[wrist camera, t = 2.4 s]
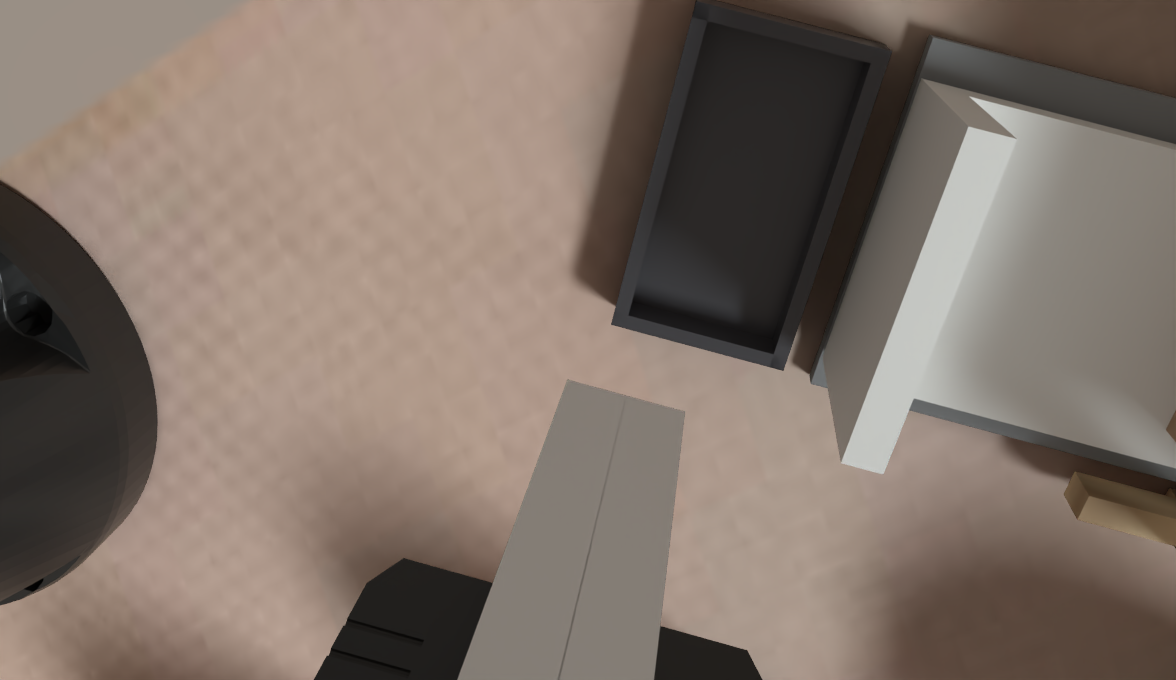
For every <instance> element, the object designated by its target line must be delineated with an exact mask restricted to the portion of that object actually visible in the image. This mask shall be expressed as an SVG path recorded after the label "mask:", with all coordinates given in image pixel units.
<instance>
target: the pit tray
mask: <svg viewBox="0 0 1176 680" xmlns="http://www.w3.org/2000/svg"><path fill="white" fill-rule="evenodd" d="M891 53H892V51H891V50H890V49H889V48H888V47H887V46H886V45H885V44H882V43H878V42H875V41H871V40H867V39H863V38H859V37H855V36H851V35H847V34H844V33H840V32H836V31H832V30H828V29H824V28H820V27H816V26H813V25H809V24H805V23H801V22H797V21H793V20H789V19H785V18H782V17H778V16H774V15H770V14H766V13H762V12H758V11H754V10H751V9H747V8H743V7H739V6H735V5H731V4H727V3H723V2H720V1H716V0H696V4H695V7H694V11H693V15H692V19H691V23H690V26H689V30H688V34H687V38H686V42H685V45H684V49H683V53H682V57H681V61H680V65H679V68H678V72H677V76H676V80H675V84H674V87H673V91H672V95H671V99H670V103H669V106H668V110H667V114H666V118H665V122H664V125H663V129H662V133H661V137H660V141H659V144H658V148H657V152H656V156H655V160H654V163H653V167H652V171H651V175H650V179H649V182H648V186H647V190H646V194H645V198H644V201H643V205H642V209H641V213H640V217H639V221H638V224H637V228H636V232H635V236H634V240H633V243H632V247H631V251H630V255H629V259H628V262H627V266H626V270H625V274H624V278H623V281H622V285H621V289H620V293H619V297H618V300H617V304H616V308H615V312H614V316H613V319H612V323H611V325H615V326H618V327H622V328H626V329H629V330H633V331H637V332H641V333H644V334H648V335H652V336H656V337H659V338H663V339H667V340H670V341H674V342H678V343H682V344H685V345H689V346H693V347H697V348H700V349H704V350H708V351H712V352H715V353H719V354H723V355H726V356H730V357H734V358H738V359H741V360H745V361H749V362H753V363H756V364H760V365H764V366H767V367H771V368H775V369H779V370H782V371H783V370H784V367H785V364H786V361H787V359H788V356H789V353H790V350H791V347H792V344H793V341H794V338H795V335H796V332H797V329H798V326H799V323H800V320H801V317H802V314H803V312H804V309H805V306H806V303H807V300H808V297H809V294H810V291H811V288H812V285H813V282H814V279H815V276H816V273H817V270H818V267H819V265H820V262H821V259H822V256H823V253H824V250H825V247H826V244H827V241H828V238H829V235H830V232H831V229H832V226H833V223H834V220H835V217H836V215H837V212H838V209H839V206H840V203H841V200H842V197H843V194H844V191H845V188H846V185H847V182H848V179H849V176H850V173H851V170H852V168H853V165H854V162H855V159H856V156H857V153H858V150H859V147H860V144H861V141H862V138H863V135H864V132H865V129H866V126H867V123H868V121H869V118H870V115H871V112H872V109H873V106H874V103H875V100H876V97H877V94H878V91H879V88H880V85H881V82H882V79H883V76H884V74H885V71H886V68H887V65H888V62H889V59H890V56H891Z"/></svg>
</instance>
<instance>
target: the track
mask: <svg viewBox="0 0 1176 680" xmlns="http://www.w3.org/2000/svg"><path fill="white" fill-rule="evenodd" d="M921 78H922V79H926V80H930V81H933V82H937V83H941V84H945V85H949V86H953V87H957V88H960V89H964V90H968V91H972V92H976V93H980V94H984V95H987V96H991V97H995V98H999V99H1003V100H1007V101H1011V102H1015V103H1018V104H1022V105H1026V106H1030V107H1034V108H1038V109H1042V110H1045V111H1049V112H1053V113H1057V114H1061V115H1065V116H1069V117H1072V118H1076V119H1080V120H1084V121H1088V122H1092V123H1096V124H1100V125H1103V126H1107V127H1111V128H1115V129H1119V130H1123V131H1127V132H1130V133H1134V134H1138V135H1142V136H1146V137H1150V138H1154V139H1157V140H1161V141H1165V142H1169V143H1173V144H1176V98H1174V97H1170V96H1166V95H1162V94H1158V93H1154V92H1151V91H1147V90H1143V89H1139V88H1135V87H1131V86H1127V85H1123V84H1119V83H1116V82H1112V81H1108V80H1104V79H1100V78H1096V77H1092V76H1088V75H1085V74H1081V73H1077V72H1073V71H1069V70H1065V69H1061V68H1057V67H1053V66H1050V65H1046V64H1042V63H1038V62H1034V61H1030V60H1026V59H1022V58H1018V57H1015V56H1011V55H1007V54H1003V53H999V52H995V51H991V50H987V49H984V48H980V47H976V46H972V45H968V44H964V43H960V42H956V41H952V40H949V39H945V38H941V37H937V36H933V35H929V37H928V40H927V43H926V46H925V49H924V52H923V55H922V57H921V60H920V63H919V66H918V69H917V72H916V74H915V77H914V80H913V83H912V86H911V89H910V91H909V94H908V97H907V100H906V103H905V106H904V108H903V111H902V114H901V117H900V120H899V123H898V126H897V128H896V131H895V134H894V137H893V140H892V143H891V145H890V148H889V151H888V154H887V157H886V160H885V162H884V165H883V168H882V171H881V174H880V177H879V180H878V182H877V185H876V188H875V191H874V194H873V197H872V199H871V202H870V205H869V208H868V211H867V214H866V216H865V219H864V222H863V225H862V228H861V231H860V233H859V236H858V239H857V242H856V245H855V248H854V251H853V253H852V256H851V259H850V262H849V265H848V268H847V270H846V273H845V276H844V279H843V282H842V285H841V287H840V290H839V293H838V296H837V299H836V302H835V304H834V307H833V310H832V313H831V316H830V319H829V322H828V324H827V327H826V330H825V333H824V336H823V339H822V341H821V344H820V347H819V350H818V353H817V356H816V358H815V361H814V364H813V367H812V370H811V373H810V382H811V384H813V385H817V386H821V387H825V388H828V387H827V381H826V375H825V370H824V364H823V358H822V357H823V354H824V351H825V348H826V346H827V343H828V340H829V337H830V334H831V331H832V329H833V326H834V323H835V320H836V317H837V315H838V312H839V309H840V306H841V303H842V300H843V298H844V295H845V292H846V289H847V286H848V284H849V281H850V278H851V275H852V272H853V269H854V267H855V264H856V261H857V258H858V255H859V253H860V250H861V247H862V244H863V241H864V238H865V236H866V233H867V230H868V227H869V224H870V222H871V219H872V216H873V213H874V210H875V207H876V205H877V202H878V199H879V196H880V193H881V190H882V188H883V185H884V182H885V179H886V176H887V174H888V171H889V168H890V165H891V162H892V159H893V157H894V154H895V151H896V148H897V145H898V143H899V140H900V137H901V134H902V131H903V128H904V126H905V123H906V120H907V117H908V114H909V112H910V109H911V106H912V103H913V100H914V97H915V95H916V92H917V89H918V86H919V83H920V81H921ZM909 410H910V411H914V412H918V413H922V414H925V415H929V416H933V417H936V418H940V419H944V420H948V421H951V422H955V423H959V424H963V425H966V426H970V427H974V428H977V429H981V430H985V431H989V432H992V433H996V434H1000V435H1004V436H1007V437H1011V438H1015V439H1018V440H1022V441H1026V442H1030V443H1033V444H1037V445H1041V446H1045V447H1048V448H1052V449H1056V450H1059V451H1063V452H1067V453H1071V454H1074V455H1078V456H1082V457H1086V458H1089V459H1093V460H1097V461H1100V462H1104V463H1108V464H1112V465H1115V466H1119V467H1123V468H1127V469H1130V470H1134V471H1138V472H1141V473H1145V474H1149V475H1153V476H1156V477H1160V478H1164V479H1168V480H1171V481H1175V482H1176V468H1172V467H1168V466H1165V465H1161V464H1157V463H1153V462H1150V461H1146V460H1142V459H1139V458H1135V457H1131V456H1127V455H1124V454H1120V453H1116V452H1112V451H1109V450H1105V449H1101V448H1097V447H1094V446H1090V445H1086V444H1083V443H1079V442H1075V441H1071V440H1068V439H1064V438H1060V437H1056V436H1053V435H1049V434H1045V433H1042V432H1038V431H1034V430H1030V429H1027V428H1023V427H1019V426H1015V425H1012V424H1008V423H1004V422H1000V421H997V420H993V419H989V418H986V417H982V416H978V415H974V414H971V413H967V412H963V411H959V410H956V409H952V408H948V407H944V406H941V405H937V404H933V403H930V402H926V401H922V400H918V399H915V398H914V399H913V401H912V404H911V406H910V409H909Z"/></svg>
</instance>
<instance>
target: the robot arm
mask: <svg viewBox="0 0 1176 680" xmlns="http://www.w3.org/2000/svg"><path fill="white" fill-rule="evenodd" d="M684 417H685V411H681V410H677V409H674V408H670V407H666V406H663V405H659V404H655V403H652V402H648V401H644V400H641V399H637V398H633V397H630V396H626V395H622V394H619V393H615V392H611V391H608V390H604V389H600V388H597V387H593V386H589V385H585V384H582V383H578V382H574V381H571V380H567V382H566V385H565V388H564V391H563V393H562V396H561V399H560V402H559V404H558V407H557V410H556V412H555V415H554V418H553V421H552V423H551V426H550V429H549V432H548V434H547V437H546V440H545V442H544V445H543V448H542V451H541V453H540V456H539V459H538V461H537V464H536V467H535V470H534V472H533V475H532V478H531V481H530V483H529V486H528V489H527V491H526V494H525V497H524V500H523V502H522V505H521V508H520V510H519V513H518V516H517V519H516V521H515V524H514V527H513V530H512V532H511V535H510V538H509V540H508V543H507V546H506V549H505V551H504V554H503V557H502V560H501V562H500V565H499V568H498V570H497V573H496V576H495V579H494V581H493V583H491V582H487V581H483V580H480V579H476V578H473V577H469V576H466V575H462V574H458V573H455V572H451V571H448V570H444V569H440V568H437V567H433V566H430V565H426V564H423V563H419V562H415V561H412V560H408V559H405V558H403V559H402V560H400V561H399V562H397V563H396V564H394V565H393V566H391V567H390V568H388V569H387V570H386V571H384V572H383V573H381V574H380V575H378V576H377V577H375V578H374V579H372V580H371V581H369V582H368V583H367V584H366V586H365V588H364V590H363V591H362V593H361V595H360V597H359V599H358V600H357V602H356V604H355V606H354V608H353V609H352V611H351V613H350V615H349V617H348V619H347V622H346V625H345V626H343V628H342V629H341V631H340V633H339V635H338V637H337V639H336V640H335V642H334V644H333V646H332V648H331V651H330V654H329V656H327V657H326V659H325V660H324V662H323V664H322V666H321V668H320V669H319V671H318V673H317V675H316V677H315V679H314V680H762V678H761V676H760V674H759V672H758V670H757V669H756V667H755V665H754V663H753V661H752V659H751V657H750V655H749V653H748V651H747V650H744V649H740V648H737V647H733V646H729V645H726V644H722V643H719V642H715V641H712V640H708V639H704V638H701V637H697V636H694V635H690V634H686V633H683V632H679V631H676V630H672V629H668V628H665V627H661V626H660V623H661V615H662V606H663V597H664V589H665V580H666V572H667V563H668V554H669V546H670V537H671V529H672V520H673V511H674V503H675V494H676V486H677V477H678V468H679V460H680V451H681V443H682V434H683V425H684ZM156 441H157V404H156V396H155V389H154V384H153V379H152V374H151V371H150V367H149V364H148V360H147V357H146V354H145V351H144V348H143V346H142V343H141V340H140V338H139V336H138V333H137V331H136V329H135V326H134V324H133V322H132V320H131V318H130V317H129V315H128V313H127V311H126V309H125V307H124V305H123V304H122V302H121V300H120V299H119V297H118V295H117V294H116V292H115V291H114V289H113V288H112V286H111V285H110V283H109V282H108V280H107V279H106V278H105V276H104V275H103V274H102V272H101V271H100V270H99V269H98V267H97V266H96V265H95V263H94V262H93V261H92V260H91V259H90V258H89V256H88V255H87V254H86V253H85V252H84V251H83V250H82V248H81V247H80V246H79V245H78V244H77V243H76V242H75V241H74V240H73V239H72V238H71V237H70V236H69V235H68V234H67V233H66V232H65V231H63V230H62V229H61V228H60V227H59V226H58V225H57V224H56V223H55V222H53V221H52V220H51V219H50V218H49V217H47V216H46V215H45V214H44V213H42V212H41V211H40V210H39V209H37V208H36V207H34V206H33V205H32V204H30V203H29V202H27V201H26V200H25V199H23V198H22V197H20V196H18V195H17V194H15V193H14V192H12V191H10V190H9V189H7V188H6V187H4V186H2V185H0V605H3V604H7V603H10V602H13V601H16V600H20V599H22V598H25V597H27V596H29V595H31V594H34V593H36V592H38V591H40V590H43V589H45V588H46V587H48V586H50V585H52V584H54V583H55V582H57V581H58V580H60V579H61V578H63V577H64V576H66V575H67V574H68V573H70V572H71V571H73V570H74V569H75V568H77V567H78V566H79V565H80V564H81V563H83V562H84V561H85V560H86V559H87V558H88V557H89V556H90V555H91V554H92V553H93V552H94V551H95V550H96V549H97V548H98V547H99V546H100V545H101V544H102V543H103V542H104V541H105V540H106V539H107V538H108V537H109V536H110V535H111V534H112V533H113V531H114V530H115V529H116V528H117V527H118V526H119V525H120V524H121V523H122V522H123V521H124V520H125V518H126V517H127V516H128V515H129V514H130V512H131V511H132V509H133V508H134V506H135V505H136V503H137V501H138V499H139V498H140V496H141V494H142V492H143V490H144V487H145V485H146V483H147V480H148V477H149V474H150V471H151V468H152V464H153V459H154V455H155V449H156Z"/></svg>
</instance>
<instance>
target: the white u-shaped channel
mask: <svg viewBox="0 0 1176 680" xmlns="http://www.w3.org/2000/svg"><path fill="white" fill-rule="evenodd" d="M822 358H823V364H824V370H825V375H826V381H827V387H828V392H829V398H830V404H831V409H832V415H833V421H834V426H835V432H836V438H837V443H838V449H839V455H840V461H841V463H842V464H846V465H850V466H854V467H857V468H861V469H865V470H868V471H872V472H876V473H879V474H884V471H885V469H886V466H887V464H888V461H889V459H890V456H891V454H892V451H893V449H894V446H895V444H896V441H897V439H898V436H899V434H900V431H901V429H902V426H903V424H904V421H905V419H906V416H907V414H908V411H909V409H910V406H911V404H912V401H913V399H914V398H915V399H918V400H922V401H926V402H930V403H933V404H937V405H941V406H944V407H948V408H952V409H956V410H959V411H963V412H967V413H971V414H974V415H978V416H982V417H986V418H989V419H993V420H997V421H1000V422H1004V423H1008V424H1012V425H1015V426H1019V427H1023V428H1027V429H1030V430H1034V431H1038V432H1042V433H1045V434H1049V435H1053V436H1056V437H1060V438H1064V439H1068V440H1071V441H1075V442H1079V443H1083V444H1086V445H1090V446H1094V447H1097V448H1101V449H1105V450H1109V451H1112V452H1116V453H1120V454H1124V455H1127V456H1131V457H1135V458H1139V459H1142V460H1146V461H1150V462H1153V463H1157V464H1161V465H1165V466H1168V467H1172V468H1176V144H1173V143H1169V142H1165V141H1161V140H1157V139H1154V138H1150V137H1146V136H1142V135H1138V134H1134V133H1130V132H1127V131H1123V130H1119V129H1115V128H1111V127H1107V126H1103V125H1100V124H1096V123H1092V122H1088V121H1084V120H1080V119H1076V118H1072V117H1069V116H1065V115H1061V114H1057V113H1053V112H1049V111H1045V110H1042V109H1038V108H1034V107H1030V106H1026V105H1022V104H1018V103H1015V102H1011V101H1007V100H1003V99H999V98H995V97H991V96H987V95H984V94H980V93H976V92H972V91H968V90H964V89H960V88H957V87H953V86H949V85H945V84H941V83H937V82H933V81H930V80H926V79H922V78H921V81H920V83H919V86H918V89H917V92H916V95H915V97H914V100H913V103H912V106H911V109H910V112H909V114H908V117H907V120H906V123H905V126H904V128H903V131H902V134H901V137H900V140H899V143H898V145H897V148H896V151H895V154H894V157H893V159H892V162H891V165H890V168H889V171H888V174H887V176H886V179H885V182H884V185H883V188H882V190H881V193H880V196H879V199H878V202H877V205H876V207H875V210H874V213H873V216H872V219H871V222H870V224H869V227H868V230H867V233H866V236H865V238H864V241H863V244H862V247H861V250H860V253H859V255H858V258H857V261H856V264H855V267H854V269H853V272H852V275H851V278H850V281H849V284H848V286H847V289H846V292H845V295H844V298H843V300H842V303H841V306H840V309H839V312H838V315H837V317H836V320H835V323H834V326H833V329H832V331H831V334H830V337H829V340H828V343H827V346H826V348H825V351H824V354H823V357H822Z"/></svg>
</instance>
